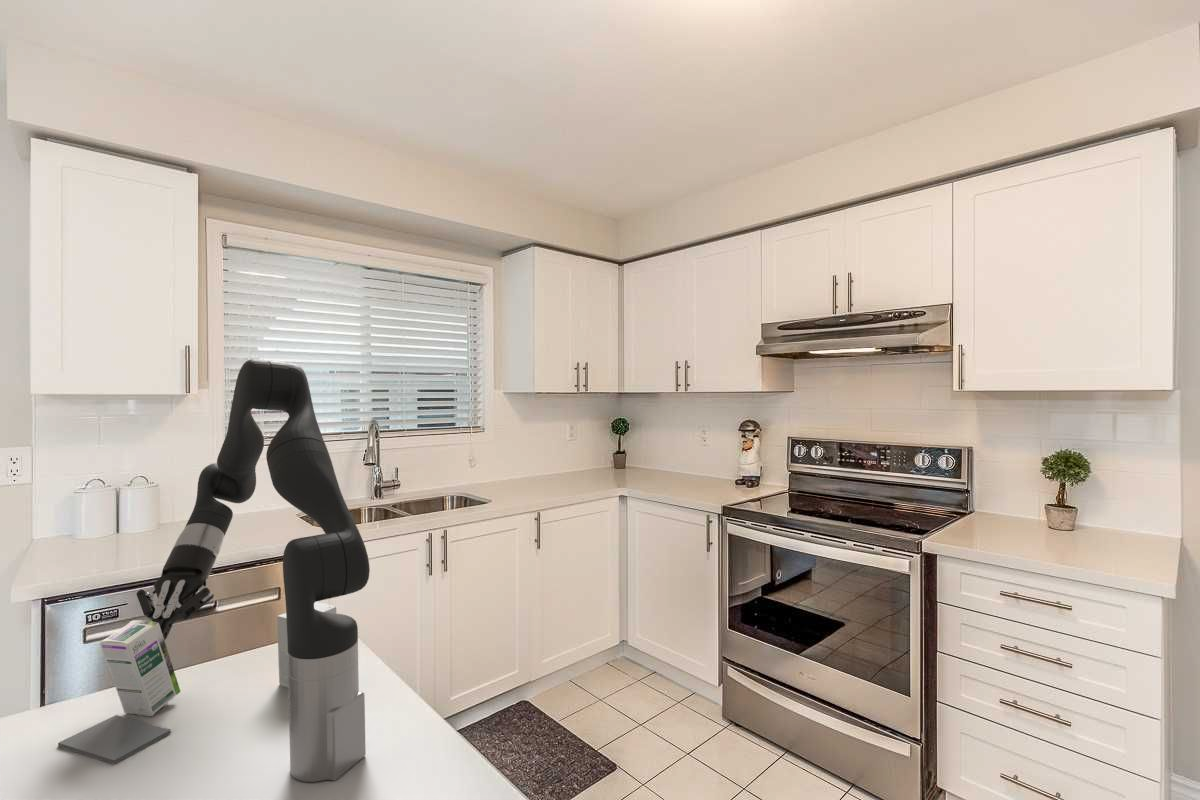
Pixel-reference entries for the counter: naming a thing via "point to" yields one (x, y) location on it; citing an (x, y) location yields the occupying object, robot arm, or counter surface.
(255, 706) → the counter surface
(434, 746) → the counter surface
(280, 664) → the small box
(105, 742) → the slate trivet
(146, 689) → the syrup box
